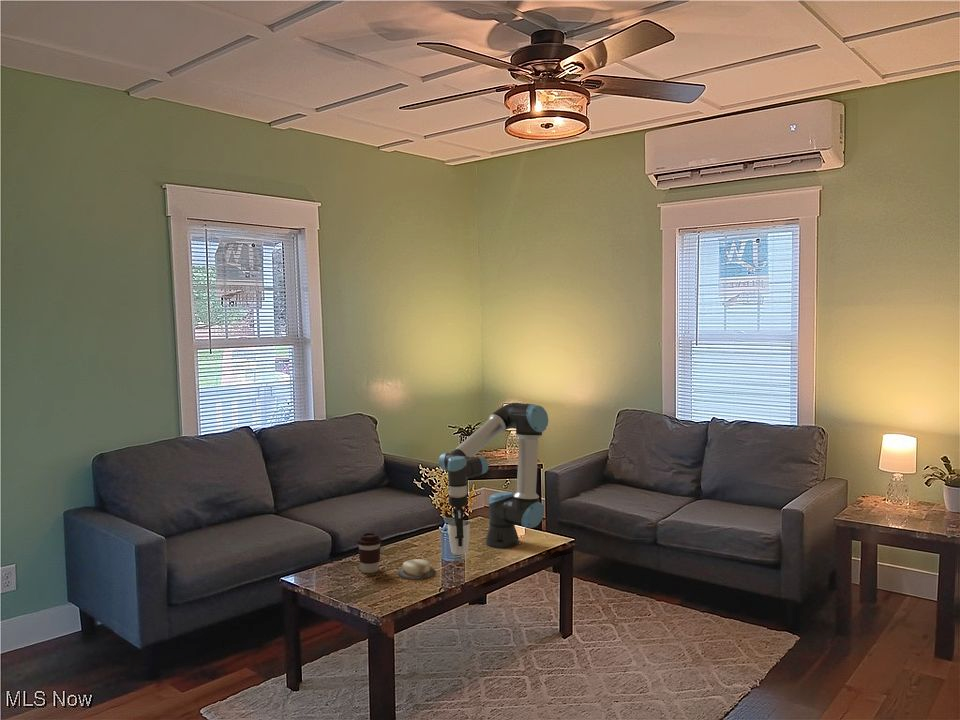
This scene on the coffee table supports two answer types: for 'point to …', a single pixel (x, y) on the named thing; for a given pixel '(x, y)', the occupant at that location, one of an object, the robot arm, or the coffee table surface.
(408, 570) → the pedestal
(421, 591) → the coffee table surface
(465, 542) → the cup
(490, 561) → the coffee table surface
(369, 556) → the coffee cup
